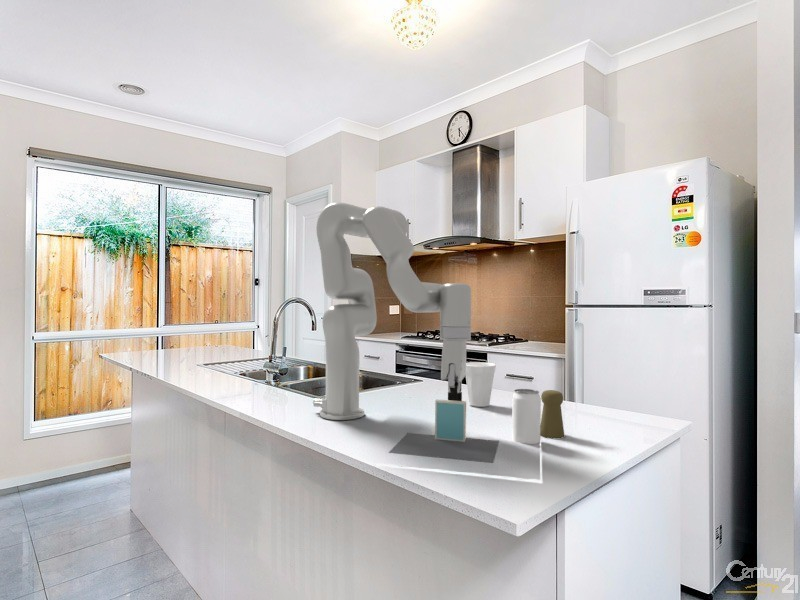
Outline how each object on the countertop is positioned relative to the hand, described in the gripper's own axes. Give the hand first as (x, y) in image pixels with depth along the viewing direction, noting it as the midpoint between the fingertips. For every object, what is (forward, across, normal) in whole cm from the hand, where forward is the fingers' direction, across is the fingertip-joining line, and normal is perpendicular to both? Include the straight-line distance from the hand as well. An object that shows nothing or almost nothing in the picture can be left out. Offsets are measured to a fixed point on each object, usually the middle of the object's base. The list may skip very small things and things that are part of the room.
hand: (454, 408), depth 120 cm
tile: (+6, +6, 0) cm, 8 cm away
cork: (+7, -8, +23) cm, 25 cm away
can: (+7, 0, +17) cm, 18 cm away
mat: (+7, +11, 0) cm, 13 cm away
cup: (+7, -36, +2) cm, 37 cm away
